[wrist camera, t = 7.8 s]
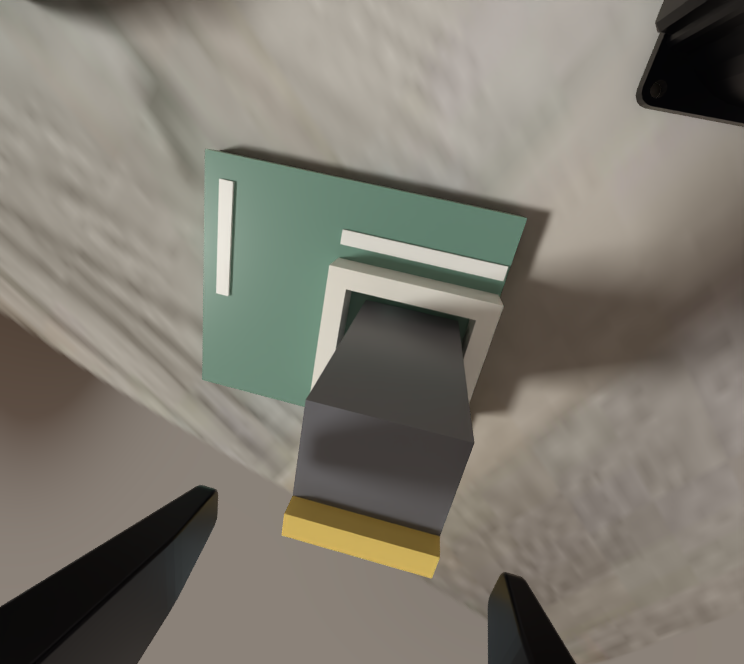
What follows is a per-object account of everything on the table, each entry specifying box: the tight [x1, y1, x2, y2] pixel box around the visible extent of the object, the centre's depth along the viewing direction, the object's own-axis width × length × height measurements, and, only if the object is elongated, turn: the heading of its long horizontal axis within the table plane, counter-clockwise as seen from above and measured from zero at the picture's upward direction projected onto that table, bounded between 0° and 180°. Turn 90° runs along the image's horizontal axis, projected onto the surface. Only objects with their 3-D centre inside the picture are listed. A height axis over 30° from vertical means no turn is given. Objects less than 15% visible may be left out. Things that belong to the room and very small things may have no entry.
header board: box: [202, 149, 527, 407], centre depth 17 cm, size 13×11×2 cm
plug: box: [282, 300, 474, 578], centre depth 13 cm, size 4×4×9 cm
